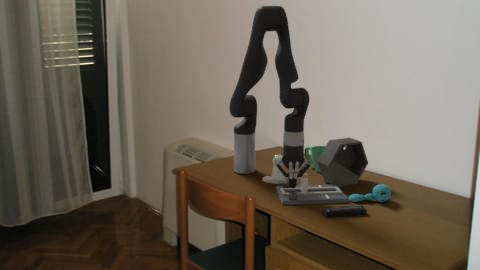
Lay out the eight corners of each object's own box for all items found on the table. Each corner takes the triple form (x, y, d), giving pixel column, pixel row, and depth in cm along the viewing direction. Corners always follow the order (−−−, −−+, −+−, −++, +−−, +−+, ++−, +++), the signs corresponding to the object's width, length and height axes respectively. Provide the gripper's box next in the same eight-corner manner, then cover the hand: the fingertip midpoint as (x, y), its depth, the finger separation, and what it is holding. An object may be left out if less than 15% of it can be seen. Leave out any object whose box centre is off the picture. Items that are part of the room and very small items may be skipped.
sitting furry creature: (279, 177, 210) (280, 149, 207) (293, 182, 203) (293, 154, 200) (261, 181, 205) (261, 153, 202) (274, 187, 198) (275, 158, 195)
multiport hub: (366, 216, 170) (367, 209, 170) (326, 218, 168) (326, 212, 168) (361, 211, 175) (362, 205, 174) (321, 213, 172) (322, 207, 172)
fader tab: (300, 189, 189) (300, 173, 188) (306, 189, 189) (306, 173, 188) (302, 192, 186) (302, 175, 185) (307, 192, 186) (308, 175, 185)
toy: (353, 210, 177) (395, 200, 175) (348, 192, 178) (390, 182, 176) (350, 208, 189) (390, 199, 187) (346, 191, 189) (385, 182, 188)
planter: (321, 178, 193) (347, 132, 194) (310, 172, 200) (335, 128, 201) (350, 195, 201) (375, 151, 202) (338, 189, 208) (363, 146, 209)
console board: (275, 189, 195) (275, 181, 194) (336, 187, 197) (336, 179, 196) (282, 204, 180) (282, 195, 179) (347, 202, 182) (348, 193, 181)
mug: (337, 171, 218) (338, 149, 215) (322, 175, 212) (323, 153, 209) (312, 164, 229) (312, 142, 226) (297, 168, 223) (297, 146, 220)
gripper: (309, 139, 187) (307, 183, 191) (274, 140, 186) (273, 184, 190) (313, 144, 180) (312, 190, 184) (277, 145, 179) (276, 191, 183)
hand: (292, 187), depth 187 cm, fingers closed
